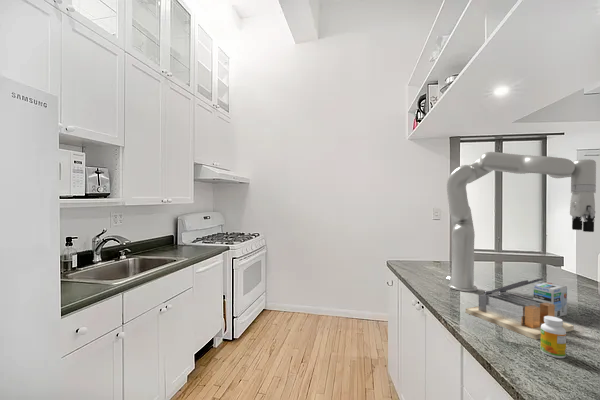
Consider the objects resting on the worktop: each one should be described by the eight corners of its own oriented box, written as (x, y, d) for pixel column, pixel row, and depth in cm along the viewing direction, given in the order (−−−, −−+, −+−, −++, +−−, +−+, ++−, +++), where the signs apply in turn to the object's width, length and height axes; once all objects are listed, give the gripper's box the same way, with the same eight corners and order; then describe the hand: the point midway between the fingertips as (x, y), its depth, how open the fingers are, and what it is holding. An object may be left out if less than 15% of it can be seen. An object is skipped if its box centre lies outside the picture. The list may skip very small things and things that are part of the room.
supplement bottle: (535, 349, 85) (535, 314, 85) (552, 348, 86) (553, 314, 86) (552, 359, 80) (553, 322, 80) (571, 358, 80) (571, 322, 80)
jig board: (465, 312, 113) (465, 308, 113) (500, 306, 121) (500, 302, 121) (536, 339, 91) (536, 334, 91) (573, 330, 99) (573, 325, 99)
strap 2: (499, 293, 114) (497, 289, 115) (504, 292, 115) (502, 289, 116) (539, 281, 102) (537, 278, 102) (544, 280, 103) (542, 277, 103)
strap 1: (484, 295, 111) (483, 292, 112) (490, 294, 112) (488, 291, 113) (524, 283, 99) (522, 280, 99) (529, 282, 100) (527, 279, 100)
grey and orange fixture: (478, 310, 112) (478, 293, 112) (503, 305, 117) (503, 289, 117) (530, 329, 95) (530, 309, 95) (556, 322, 101) (556, 304, 101)
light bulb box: (553, 319, 108) (554, 289, 108) (532, 312, 114) (532, 284, 114) (567, 314, 113) (568, 285, 113) (546, 308, 119) (546, 281, 119)
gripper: (563, 190, 134) (562, 228, 134) (581, 188, 118) (580, 232, 118) (584, 190, 131) (584, 229, 131) (606, 188, 115) (605, 233, 115)
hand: (582, 230), depth 124 cm, fingers open, 9 cm apart
